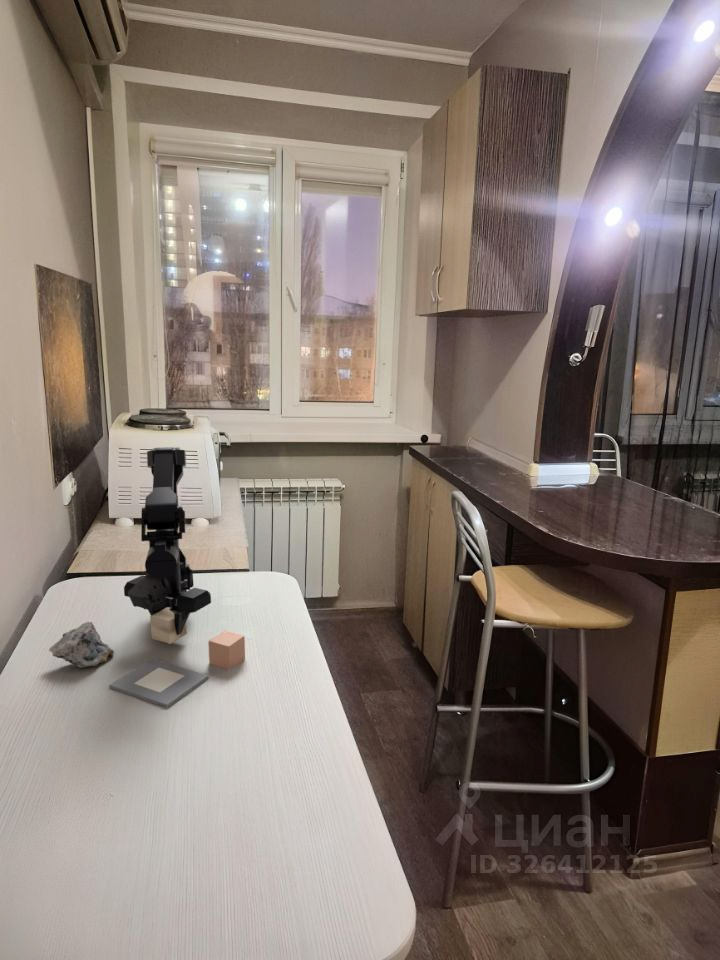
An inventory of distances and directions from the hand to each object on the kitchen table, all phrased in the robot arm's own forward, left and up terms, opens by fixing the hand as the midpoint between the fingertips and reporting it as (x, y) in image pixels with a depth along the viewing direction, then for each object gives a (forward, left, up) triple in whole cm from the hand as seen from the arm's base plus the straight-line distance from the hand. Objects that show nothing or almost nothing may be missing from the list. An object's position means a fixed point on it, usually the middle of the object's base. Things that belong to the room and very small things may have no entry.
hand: (169, 631), depth 132 cm
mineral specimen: (+14, -10, -3) cm, 17 cm away
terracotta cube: (0, +15, -3) cm, 15 cm away
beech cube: (0, 0, -1) cm, 1 cm away
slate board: (+12, +9, -3) cm, 16 cm away
